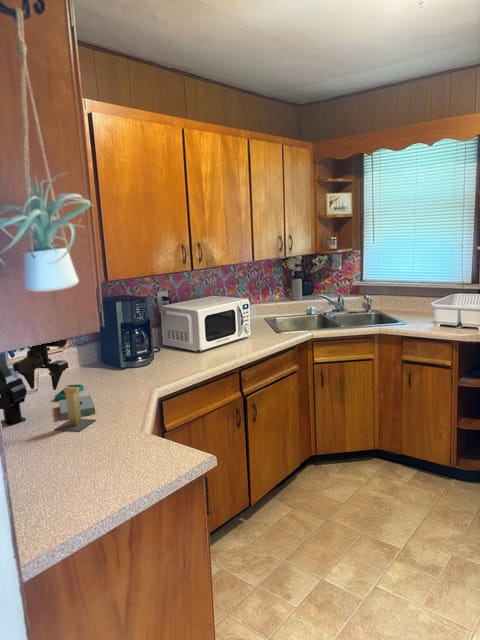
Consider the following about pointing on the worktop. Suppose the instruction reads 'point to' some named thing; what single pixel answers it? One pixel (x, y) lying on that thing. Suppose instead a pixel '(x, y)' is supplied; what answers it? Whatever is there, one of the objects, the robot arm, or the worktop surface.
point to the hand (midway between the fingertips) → (43, 389)
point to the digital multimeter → (62, 394)
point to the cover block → (85, 407)
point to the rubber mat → (78, 428)
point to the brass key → (73, 405)
